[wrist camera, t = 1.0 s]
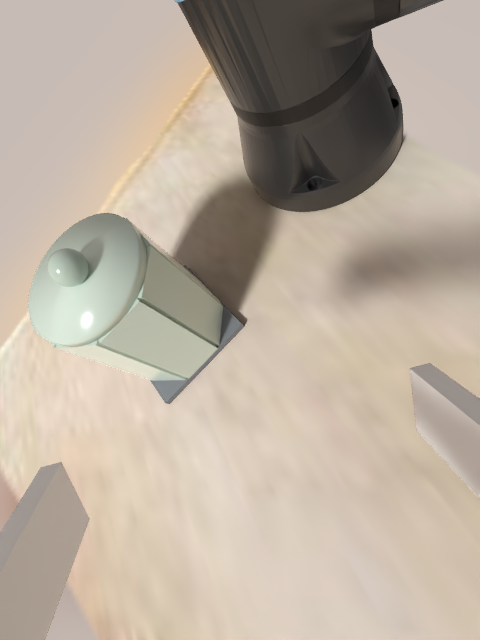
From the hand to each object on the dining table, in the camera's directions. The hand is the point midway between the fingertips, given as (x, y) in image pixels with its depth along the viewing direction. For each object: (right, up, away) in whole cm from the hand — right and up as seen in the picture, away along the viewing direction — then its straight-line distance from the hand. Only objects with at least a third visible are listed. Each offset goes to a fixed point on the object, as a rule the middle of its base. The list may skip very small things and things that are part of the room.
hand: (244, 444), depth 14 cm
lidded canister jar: (-6, +4, +22) cm, 24 cm away
